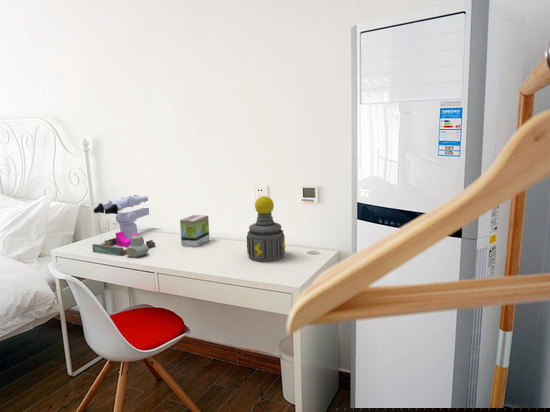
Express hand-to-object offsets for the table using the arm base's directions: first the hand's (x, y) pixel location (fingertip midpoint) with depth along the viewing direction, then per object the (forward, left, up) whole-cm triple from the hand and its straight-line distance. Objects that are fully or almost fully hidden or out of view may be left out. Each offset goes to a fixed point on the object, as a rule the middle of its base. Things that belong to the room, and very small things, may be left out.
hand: (99, 211), depth 233 cm
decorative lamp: (-17, +93, -21) cm, 97 cm away
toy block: (-8, +12, -21) cm, 25 cm away
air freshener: (+5, +30, -21) cm, 36 cm away
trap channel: (-3, +12, -20) cm, 24 cm away
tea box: (-25, +44, -21) cm, 55 cm away
